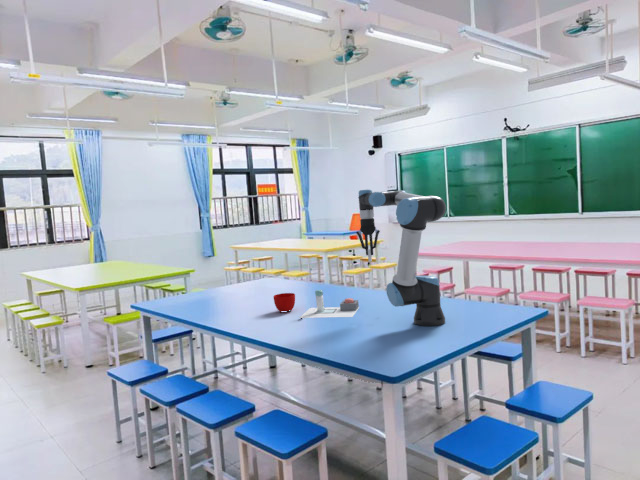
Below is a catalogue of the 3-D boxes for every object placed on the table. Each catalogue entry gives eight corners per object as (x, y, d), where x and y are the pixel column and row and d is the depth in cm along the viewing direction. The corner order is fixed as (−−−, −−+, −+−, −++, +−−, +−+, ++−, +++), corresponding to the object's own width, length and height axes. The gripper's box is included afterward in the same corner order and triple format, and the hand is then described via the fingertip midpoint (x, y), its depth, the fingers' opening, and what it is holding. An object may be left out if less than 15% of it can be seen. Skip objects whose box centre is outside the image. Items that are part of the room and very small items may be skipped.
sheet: (352, 319, 247) (352, 316, 246) (299, 319, 254) (298, 317, 254) (359, 308, 270) (359, 306, 270) (310, 309, 277) (310, 307, 277)
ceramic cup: (298, 307, 288) (297, 291, 287) (294, 313, 271) (293, 296, 270) (278, 308, 289) (276, 292, 288) (272, 314, 272) (271, 297, 271)
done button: (353, 307, 263) (352, 300, 263) (344, 307, 264) (343, 300, 264) (354, 305, 268) (354, 298, 268) (346, 305, 269) (345, 298, 269)
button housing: (356, 310, 261) (355, 303, 260) (340, 310, 263) (340, 303, 263) (358, 306, 269) (358, 300, 269) (343, 307, 272) (343, 300, 271)
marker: (323, 312, 263) (321, 291, 262) (316, 312, 264) (314, 291, 263) (325, 310, 267) (323, 289, 266) (318, 310, 268) (316, 290, 267)
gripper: (379, 217, 253) (382, 259, 255) (356, 218, 256) (359, 260, 258) (378, 217, 246) (381, 261, 248) (354, 219, 249) (357, 262, 251)
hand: (370, 261), depth 253 cm, fingers closed
